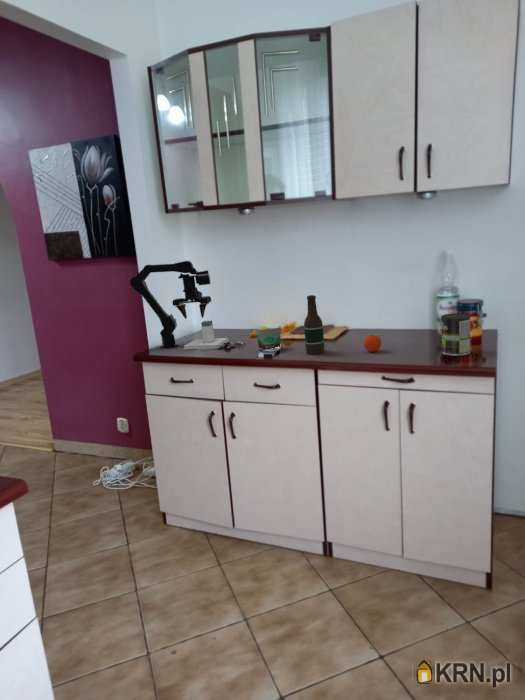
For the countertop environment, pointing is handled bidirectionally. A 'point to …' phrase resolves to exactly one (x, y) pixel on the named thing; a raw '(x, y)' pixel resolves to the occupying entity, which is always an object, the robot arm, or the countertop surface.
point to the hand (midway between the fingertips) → (194, 318)
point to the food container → (268, 338)
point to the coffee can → (455, 334)
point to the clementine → (372, 343)
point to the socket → (206, 344)
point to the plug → (207, 331)
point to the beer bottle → (313, 329)
